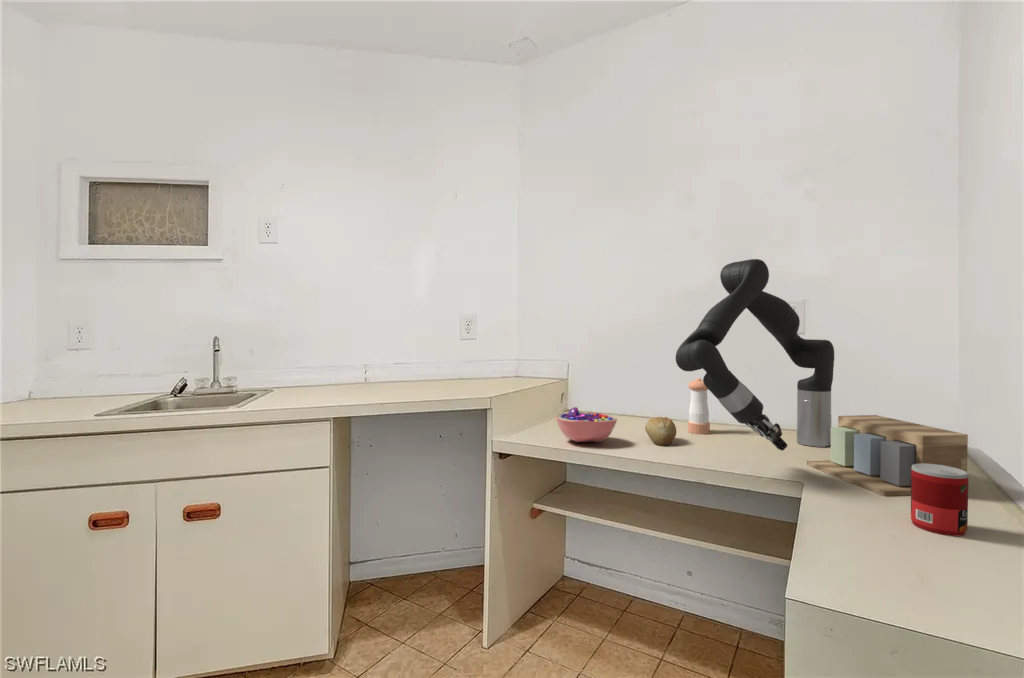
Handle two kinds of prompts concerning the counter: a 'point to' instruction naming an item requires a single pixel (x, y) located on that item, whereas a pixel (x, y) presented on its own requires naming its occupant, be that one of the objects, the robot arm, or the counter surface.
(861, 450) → the blue-grey key
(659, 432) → the bread roll
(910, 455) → the charcoal key
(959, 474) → the canned food
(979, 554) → the counter surface
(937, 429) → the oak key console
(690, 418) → the salt shaker
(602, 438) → the cell model
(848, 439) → the sage key
